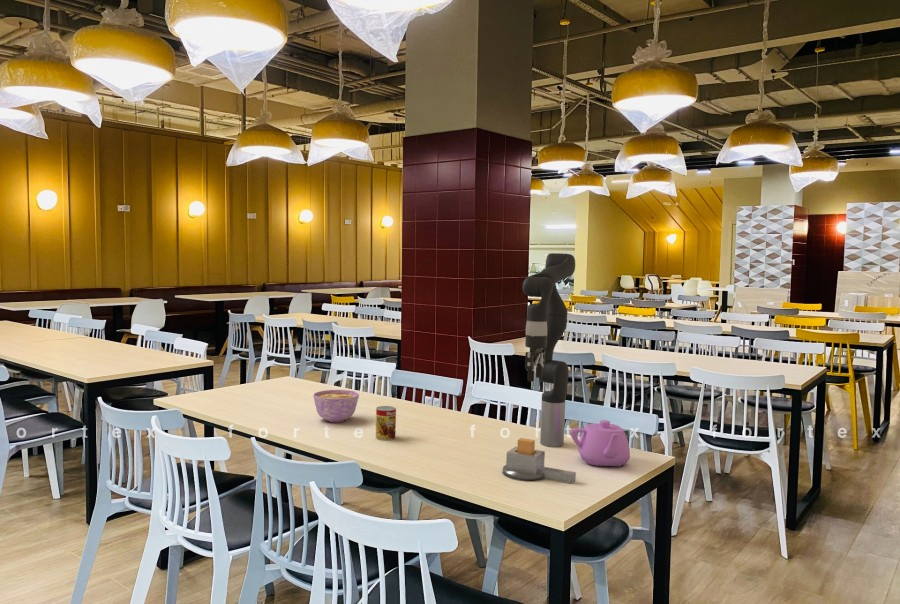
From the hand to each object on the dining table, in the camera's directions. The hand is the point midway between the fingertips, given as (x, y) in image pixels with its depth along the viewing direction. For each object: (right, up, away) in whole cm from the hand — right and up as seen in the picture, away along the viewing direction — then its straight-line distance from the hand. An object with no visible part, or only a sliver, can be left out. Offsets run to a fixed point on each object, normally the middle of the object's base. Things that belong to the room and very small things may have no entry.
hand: (534, 379), depth 227 cm
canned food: (-56, -27, +30) cm, 69 cm away
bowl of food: (-80, -25, +57) cm, 101 cm away
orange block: (-5, -29, -10) cm, 31 cm away
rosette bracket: (0, -31, -12) cm, 33 cm away
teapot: (+26, -31, +5) cm, 40 cm away
